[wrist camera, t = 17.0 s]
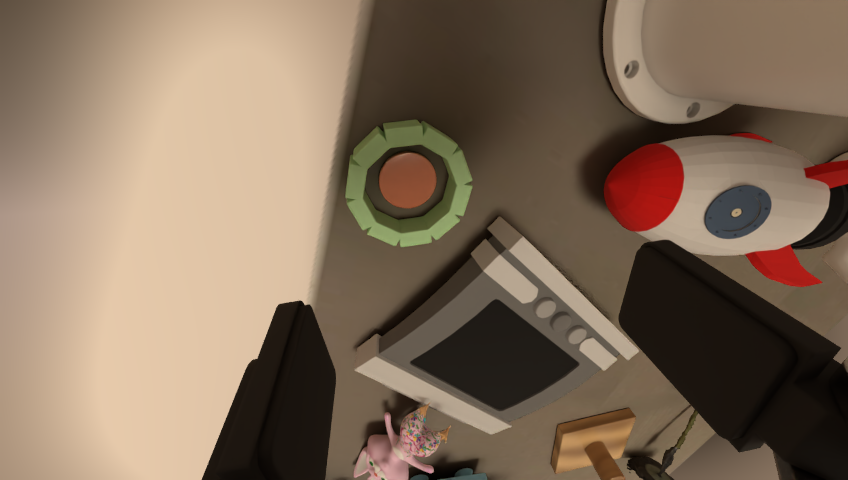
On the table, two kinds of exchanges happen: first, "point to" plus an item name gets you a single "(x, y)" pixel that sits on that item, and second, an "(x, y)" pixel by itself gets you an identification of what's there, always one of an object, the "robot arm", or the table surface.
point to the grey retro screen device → (496, 338)
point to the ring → (418, 227)
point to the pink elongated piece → (400, 448)
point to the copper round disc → (407, 179)
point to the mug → (839, 247)
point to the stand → (593, 443)
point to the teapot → (457, 476)
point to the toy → (732, 200)
